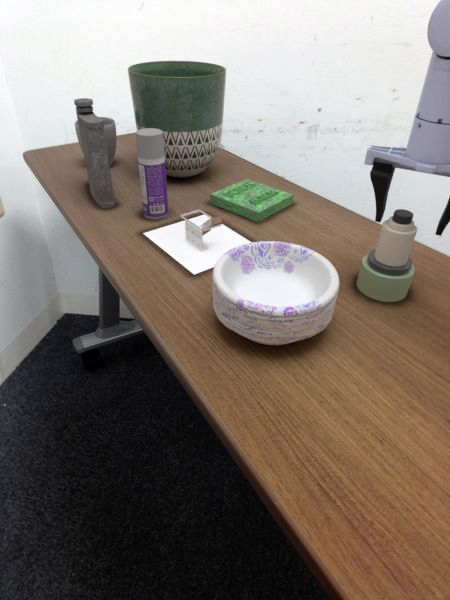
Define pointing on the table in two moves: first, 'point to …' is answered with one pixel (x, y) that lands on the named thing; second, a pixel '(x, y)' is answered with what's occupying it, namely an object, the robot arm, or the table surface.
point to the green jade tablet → (251, 199)
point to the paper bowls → (274, 291)
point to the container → (152, 172)
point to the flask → (95, 153)
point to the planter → (181, 110)
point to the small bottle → (396, 239)
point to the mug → (109, 136)
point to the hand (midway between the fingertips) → (408, 225)
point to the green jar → (384, 279)
